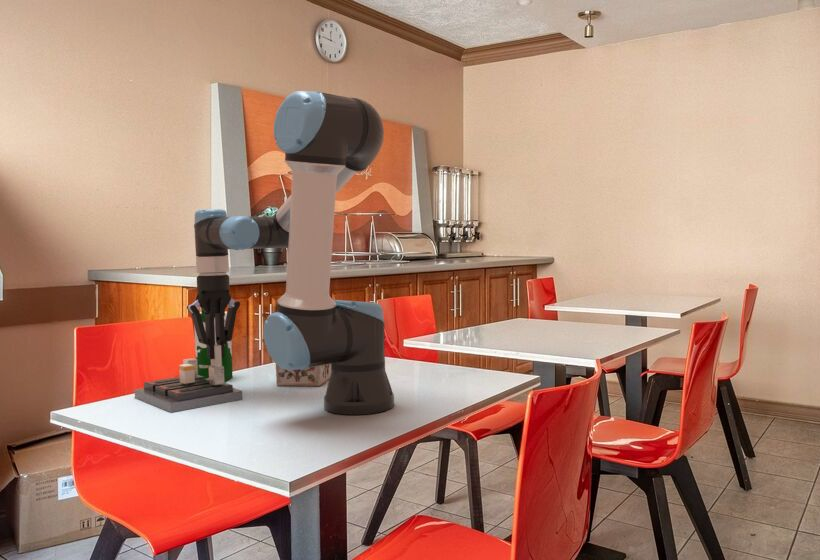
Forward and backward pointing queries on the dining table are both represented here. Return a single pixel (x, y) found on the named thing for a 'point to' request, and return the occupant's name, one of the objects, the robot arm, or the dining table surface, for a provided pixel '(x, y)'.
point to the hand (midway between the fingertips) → (216, 371)
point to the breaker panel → (189, 390)
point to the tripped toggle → (186, 373)
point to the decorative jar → (303, 376)
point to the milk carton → (204, 362)
